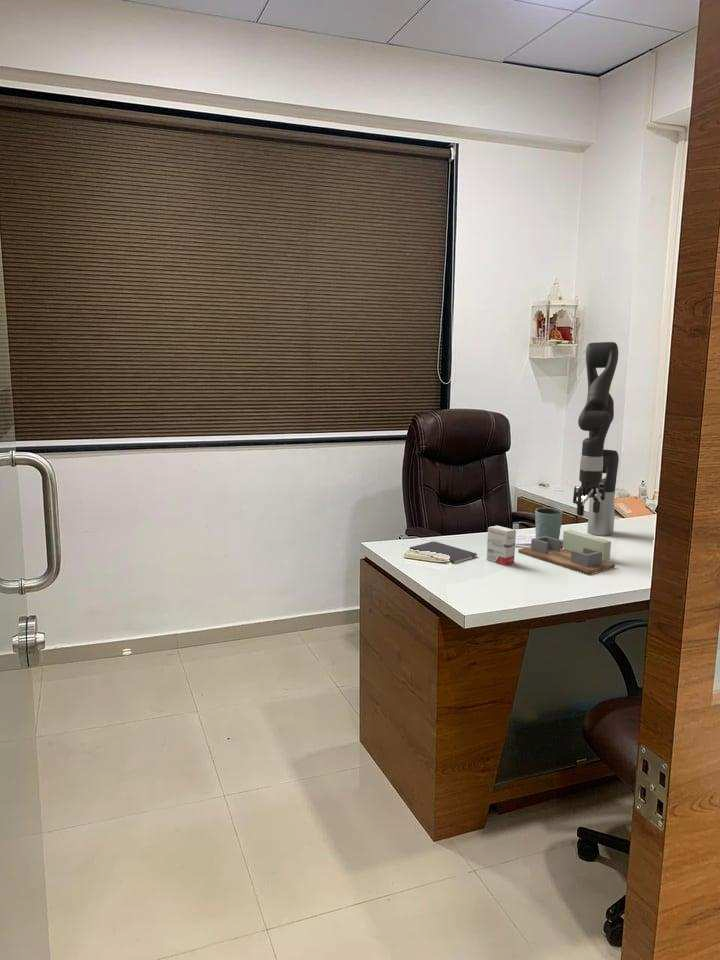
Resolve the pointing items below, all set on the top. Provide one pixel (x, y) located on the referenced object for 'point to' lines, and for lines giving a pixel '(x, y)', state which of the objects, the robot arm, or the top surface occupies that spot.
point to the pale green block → (586, 543)
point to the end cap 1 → (545, 544)
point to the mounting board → (565, 560)
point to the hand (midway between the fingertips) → (588, 514)
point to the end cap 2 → (586, 557)
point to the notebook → (446, 551)
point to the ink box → (501, 545)
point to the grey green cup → (548, 522)
